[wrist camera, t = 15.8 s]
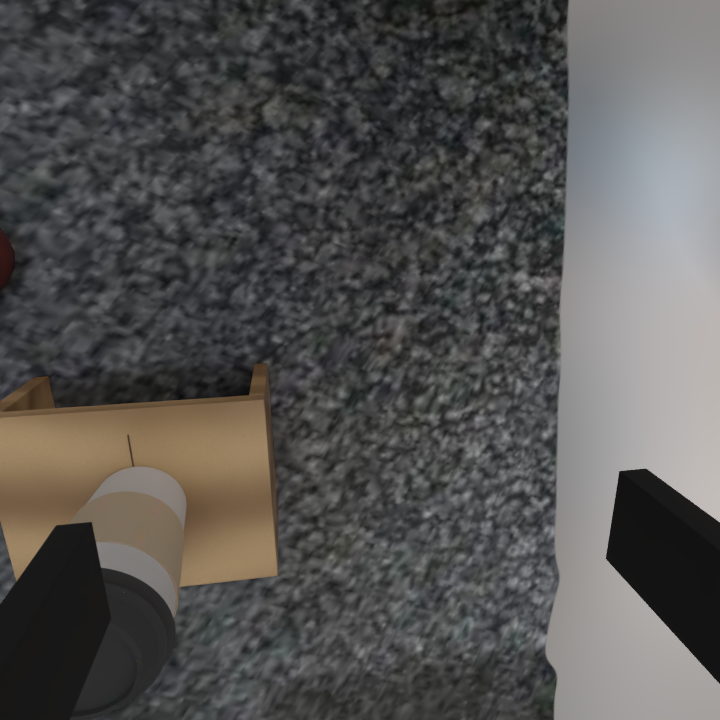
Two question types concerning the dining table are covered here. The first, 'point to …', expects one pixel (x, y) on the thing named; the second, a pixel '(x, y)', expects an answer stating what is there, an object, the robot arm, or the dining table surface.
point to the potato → (5, 259)
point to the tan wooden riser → (147, 449)
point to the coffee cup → (134, 583)
